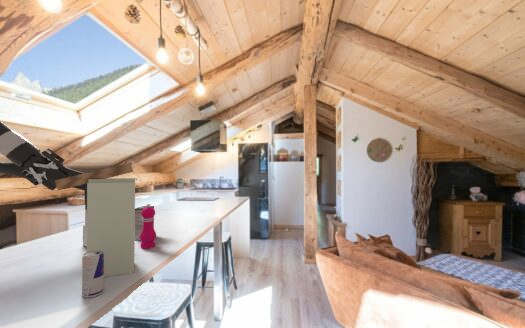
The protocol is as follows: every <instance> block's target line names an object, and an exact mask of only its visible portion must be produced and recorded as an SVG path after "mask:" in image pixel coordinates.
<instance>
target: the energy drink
mask: <svg viewBox="0 0 525 328" xmlns="http://www.w3.org/2000/svg"><path fill="white" fill-rule="evenodd" d="M81 264H82V265H81V266H82V267H81V273H82V274H81V275H82V276H81V278H82V279H81V296H82V297H83V298H85V299H92V298H96V297H98V296H100V295H102V294H103V292H104V289H105V288H104V282H105V281H104V278H105V277H104V254H103V251H91V252H87V251H86V252H84V253H83V255H82V263H81Z"/></svg>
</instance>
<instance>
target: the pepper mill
mask: <svg viewBox="0 0 525 328" xmlns="http://www.w3.org/2000/svg"><path fill="white" fill-rule="evenodd" d="M145 206H146V208H144V209H143V210H142V212H141V215H142V216H143V218H142V219H143V220H142V221H143V229H142V232H141V234H140V240H139V241H140V242H141V243H140V248H141V249H143V250H144V249H145V250H146V249H153V248H155V246H156V239H157V232H156V230H155V226H154V227H153V221H154V222H155V216H156V210H155V207H154V208H152V207H150V206H151V204H150V203H147V204H146V205H145ZM153 216H154V217H153Z"/></svg>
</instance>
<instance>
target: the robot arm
mask: <svg viewBox="0 0 525 328" xmlns="http://www.w3.org/2000/svg"><path fill="white" fill-rule="evenodd" d="M0 155H2V156H4V157H5V158H7V160H9V161H0V174H5V175H10V176H14V177H17V178H23V179H26V180H28V181H29V183H31V184H32V185H34V186H38V185H42V186H44V187H45V188H47V189H48V190H51V191H54V190H55V189H57V186H56V183H55V180H59V179H63V178H67V177H71V176H76V175H80V174H84V173H85V172H82V171H78V170H75V169H72V168H70V167H68V166H64V162H65V159H64V158H63V157H61V156H60V155H59V154H57V153H56V152H55V151H53V150H51V149H50V148H47V149H44V150H43V151H42V152H41V149H40V148H38V147H37V146H35V144H33V143H32V142H31V141H29V140H28V139H27V138H25V137H24V136H22V135H21V134H19V133H18V132H16V131H15V130H13V129H12V128H11V127H9V126H8V125H7V124H5V123H4V122H3V121H2V120H0ZM72 188H73V189H78V190H81V191H84V195H83V196H84V207H85V209H84V211H85V212H84V225H83V226H82V246H83V247H86V248H87V183H86V184H82V185H78V186H74V187H72Z"/></svg>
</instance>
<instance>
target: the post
mask: <svg viewBox="0 0 525 328" xmlns="http://www.w3.org/2000/svg"><path fill="white" fill-rule="evenodd" d="M135 209H136V178H135V177H116V178H115V177H110V178H106V179H88V183H87V247H86V253H87V252H91V251H103V254H104V278H106V277H113V276H119V275H124V274H125V275H126V274H133V273H134V271H135V270H134V269H135V255H136V253H135V250H136V249H135V247H136V246H135V241H136V240H135Z"/></svg>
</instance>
